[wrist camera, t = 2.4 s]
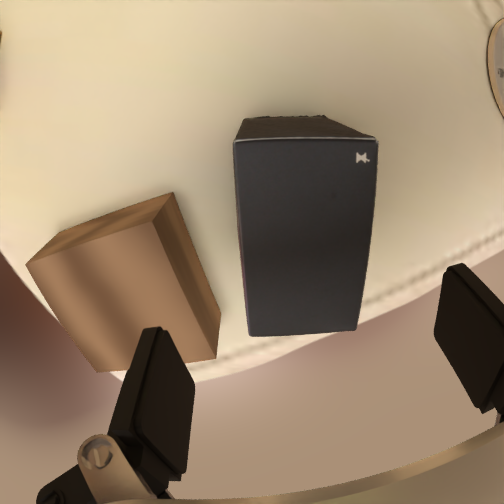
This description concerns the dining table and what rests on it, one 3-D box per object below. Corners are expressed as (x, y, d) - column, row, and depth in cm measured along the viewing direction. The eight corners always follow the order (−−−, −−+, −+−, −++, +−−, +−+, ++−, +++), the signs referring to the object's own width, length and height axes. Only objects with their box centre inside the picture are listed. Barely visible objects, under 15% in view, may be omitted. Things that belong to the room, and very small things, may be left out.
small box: (236, 117, 21) (224, 135, 12) (327, 114, 21) (385, 133, 11) (246, 250, 26) (244, 342, 17) (325, 246, 26) (362, 332, 16)
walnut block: (173, 190, 24) (152, 221, 18) (221, 311, 29) (216, 358, 24) (59, 231, 25) (25, 264, 20) (115, 330, 31) (96, 372, 25)
